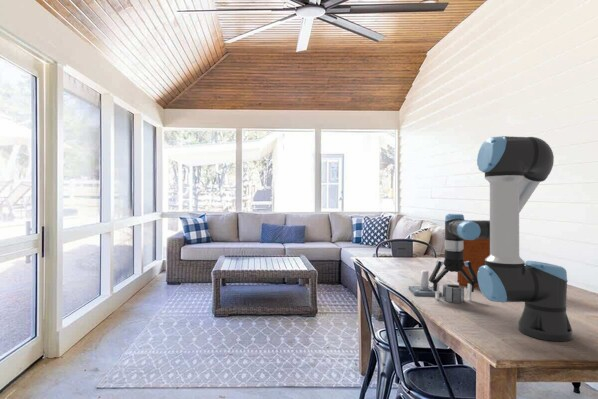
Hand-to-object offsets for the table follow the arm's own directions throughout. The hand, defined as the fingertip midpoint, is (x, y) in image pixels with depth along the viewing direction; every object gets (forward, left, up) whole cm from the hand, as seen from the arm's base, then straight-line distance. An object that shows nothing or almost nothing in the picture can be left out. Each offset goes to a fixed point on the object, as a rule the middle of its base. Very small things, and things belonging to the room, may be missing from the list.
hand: (453, 299), depth 168 cm
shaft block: (+12, +9, 0) cm, 15 cm away
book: (+29, -24, -1) cm, 38 cm away
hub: (0, 0, 0) cm, 0 cm away
